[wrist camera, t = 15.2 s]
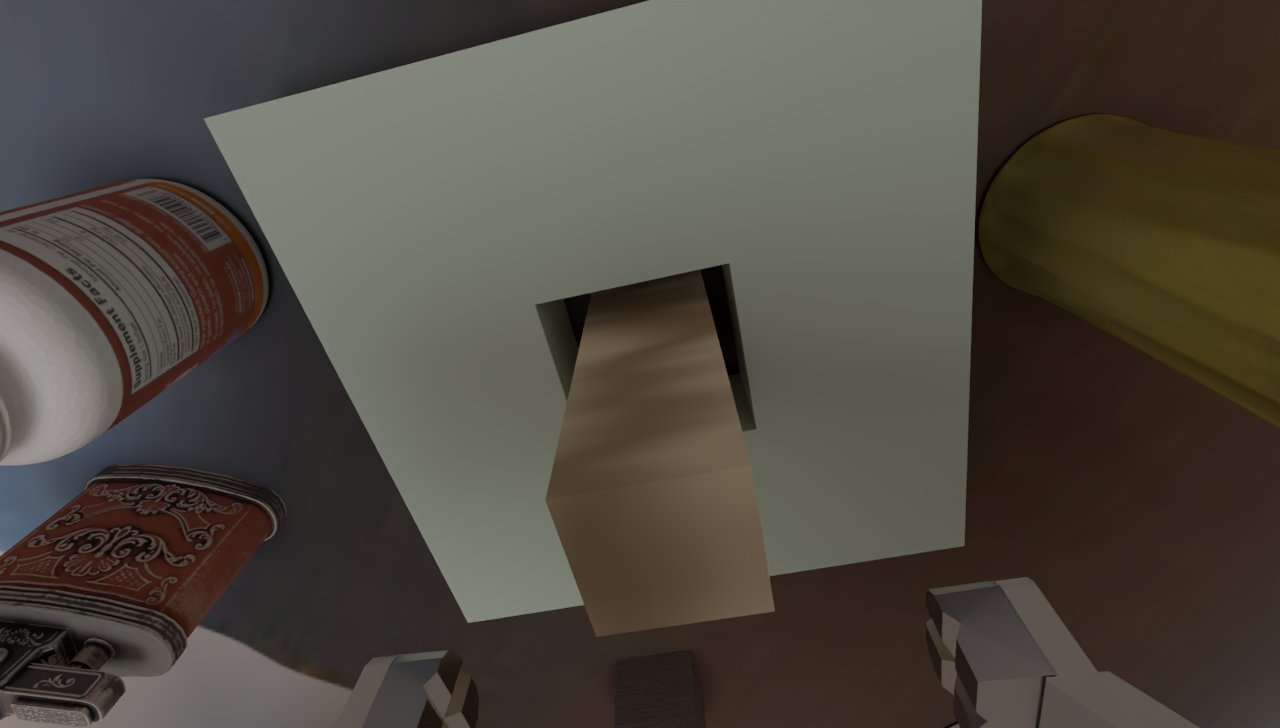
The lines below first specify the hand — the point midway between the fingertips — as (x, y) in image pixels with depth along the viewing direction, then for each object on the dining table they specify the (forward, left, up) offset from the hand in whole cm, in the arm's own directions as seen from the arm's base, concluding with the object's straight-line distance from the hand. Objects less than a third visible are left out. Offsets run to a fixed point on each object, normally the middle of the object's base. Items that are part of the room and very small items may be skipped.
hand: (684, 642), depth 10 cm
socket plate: (0, 0, -14) cm, 14 cm away
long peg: (0, 0, -14) cm, 14 cm away
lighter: (+22, +4, -14) cm, 27 cm away
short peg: (+4, +21, -14) cm, 26 cm away
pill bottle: (+16, -6, -14) cm, 23 cm away
